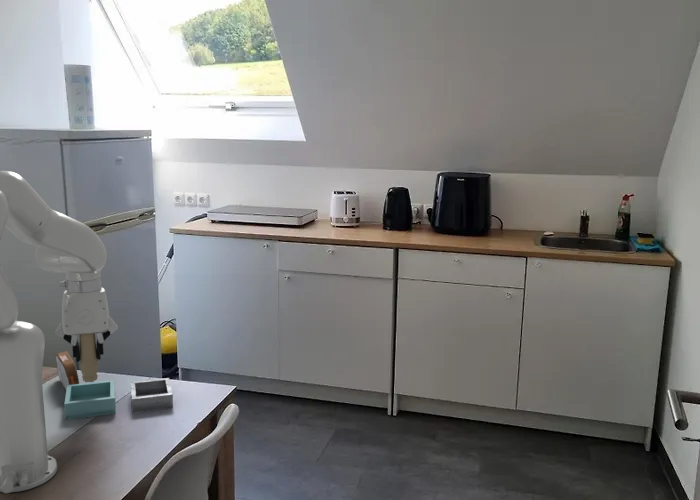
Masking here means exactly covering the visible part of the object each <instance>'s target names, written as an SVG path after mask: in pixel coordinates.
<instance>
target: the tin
mask: <svg viewBox="0 0 700 500" xmlns="http://www.w3.org/2000/svg"><path fill="white" fill-rule="evenodd" d="M55 360H56V367H57V375H58V379H59V381H60V383H61V385H62V387H63V388H64V391H66V390H67V385H73V384H80V380H79V374H78V369H77V367H76V364H75V361H74V360H73V359H72V357H71V356H70V354H69V353H68V351H67V350H65V351H62V352H57V353H56V354H55Z"/></svg>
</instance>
